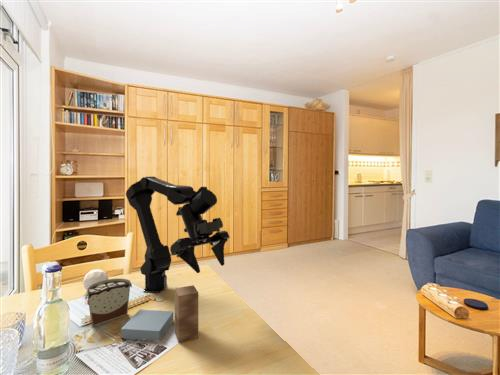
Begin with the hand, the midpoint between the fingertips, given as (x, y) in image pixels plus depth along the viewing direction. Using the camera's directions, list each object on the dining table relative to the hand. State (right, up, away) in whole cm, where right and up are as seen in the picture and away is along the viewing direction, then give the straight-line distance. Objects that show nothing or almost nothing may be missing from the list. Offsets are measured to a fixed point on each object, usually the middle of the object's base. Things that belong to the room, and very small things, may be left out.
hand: (211, 268), depth 82 cm
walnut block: (-5, -15, -9) cm, 18 cm away
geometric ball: (-43, -13, +17) cm, 48 cm away
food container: (-31, -14, 0) cm, 34 cm away
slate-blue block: (-16, -15, -6) cm, 23 cm away
